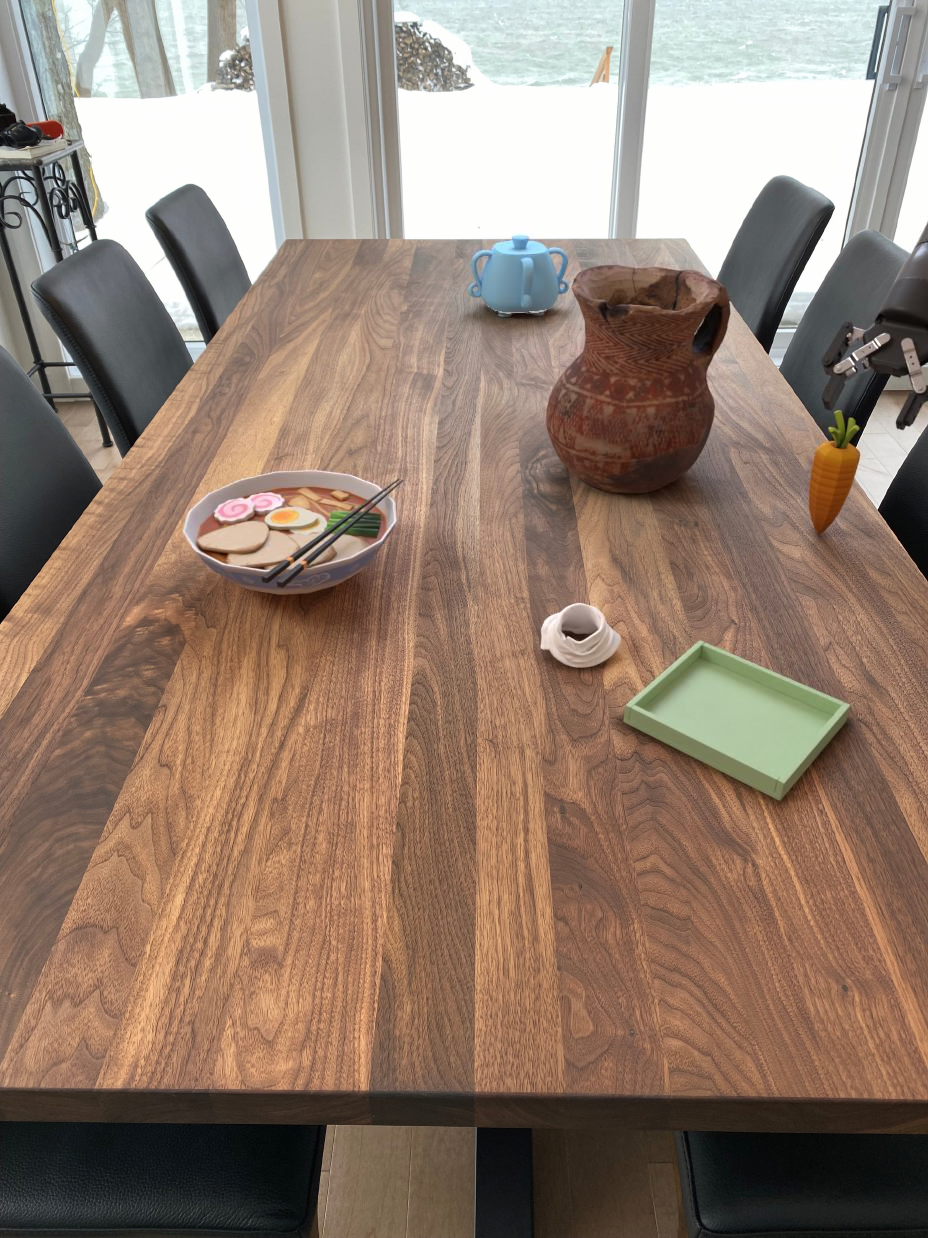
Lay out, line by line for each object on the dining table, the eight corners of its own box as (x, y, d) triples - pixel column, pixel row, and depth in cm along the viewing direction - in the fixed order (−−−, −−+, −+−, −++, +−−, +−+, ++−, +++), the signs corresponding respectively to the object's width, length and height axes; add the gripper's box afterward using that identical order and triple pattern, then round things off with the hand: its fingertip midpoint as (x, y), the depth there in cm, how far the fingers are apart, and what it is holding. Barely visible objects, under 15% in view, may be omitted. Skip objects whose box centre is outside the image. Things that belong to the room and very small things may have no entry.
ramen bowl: (281, 505, 122) (274, 445, 118) (441, 548, 114) (440, 484, 109) (141, 602, 104) (126, 535, 99) (318, 662, 95) (311, 591, 91)
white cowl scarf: (615, 638, 100) (623, 597, 98) (621, 673, 94) (629, 630, 92) (538, 631, 100) (543, 589, 98) (539, 666, 94) (545, 622, 92)
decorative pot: (577, 309, 190) (582, 235, 182) (522, 327, 180) (525, 251, 172) (514, 292, 199) (517, 222, 191) (459, 309, 189) (459, 235, 182)
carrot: (844, 545, 114) (874, 425, 106) (800, 541, 115) (827, 422, 106) (837, 524, 118) (866, 407, 110) (795, 521, 119) (820, 404, 110)
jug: (639, 526, 118) (663, 319, 104) (510, 472, 130) (516, 281, 116) (736, 468, 131) (769, 278, 117) (610, 425, 143) (626, 247, 129)
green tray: (846, 722, 88) (850, 704, 87) (779, 801, 80) (784, 783, 79) (696, 656, 96) (699, 639, 95) (623, 722, 88) (625, 705, 87)
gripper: (861, 264, 114) (798, 386, 113) (988, 287, 106) (922, 418, 105) (868, 300, 120) (809, 415, 119) (989, 324, 112) (927, 447, 112)
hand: (862, 416), depth 112 cm, fingers open, 8 cm apart
